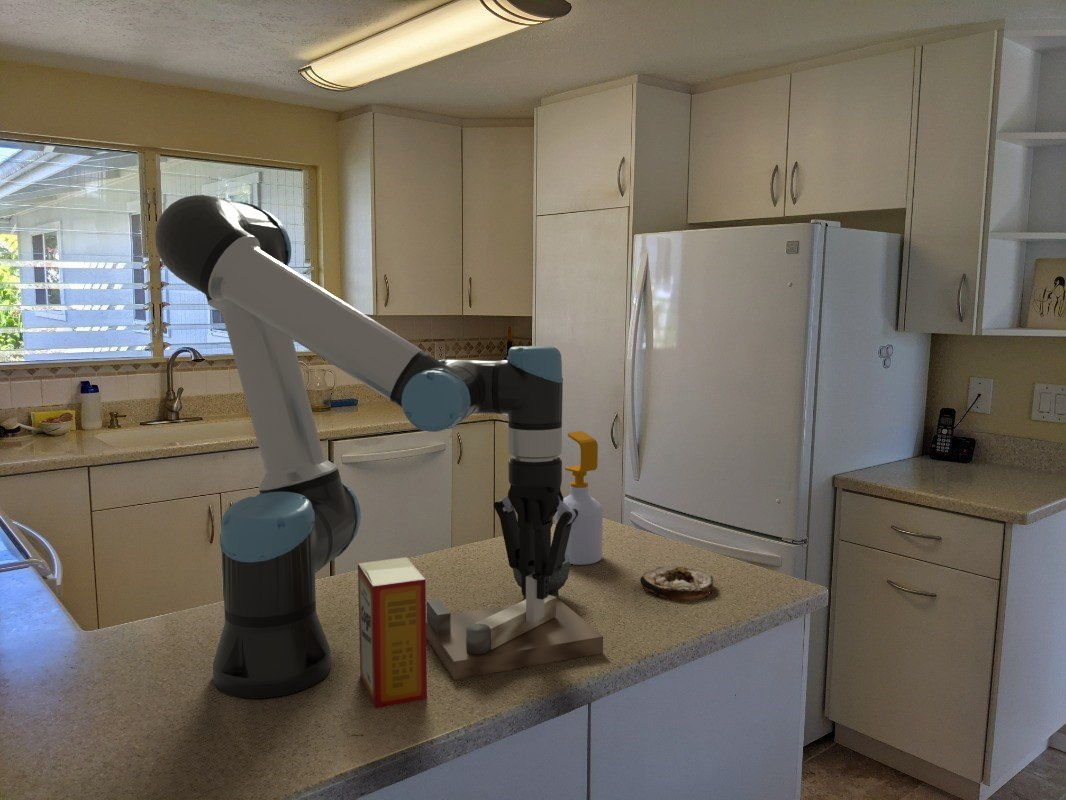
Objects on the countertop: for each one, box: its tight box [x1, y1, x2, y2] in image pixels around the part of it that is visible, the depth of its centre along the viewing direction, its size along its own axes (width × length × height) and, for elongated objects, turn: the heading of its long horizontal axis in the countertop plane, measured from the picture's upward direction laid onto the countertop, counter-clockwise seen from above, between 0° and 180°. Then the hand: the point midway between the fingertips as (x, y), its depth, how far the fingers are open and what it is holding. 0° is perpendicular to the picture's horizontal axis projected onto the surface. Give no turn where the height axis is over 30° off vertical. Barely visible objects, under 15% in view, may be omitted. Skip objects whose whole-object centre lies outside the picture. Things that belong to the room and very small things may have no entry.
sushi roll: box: [640, 565, 714, 602], centre depth 144 cm, size 15×15×4 cm
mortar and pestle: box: [512, 554, 570, 600], centre depth 139 cm, size 11×9×12 cm
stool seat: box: [426, 598, 604, 680], centre depth 121 cm, size 22×16×6 cm
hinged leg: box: [466, 595, 556, 654], centre depth 118 cm, size 18×3×3 cm, turn 142°
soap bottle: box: [554, 430, 604, 566], centre depth 159 cm, size 9×9×25 cm
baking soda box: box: [357, 556, 428, 709], centre depth 107 cm, size 10×6×16 cm
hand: (535, 618), depth 119 cm, fingers closed
